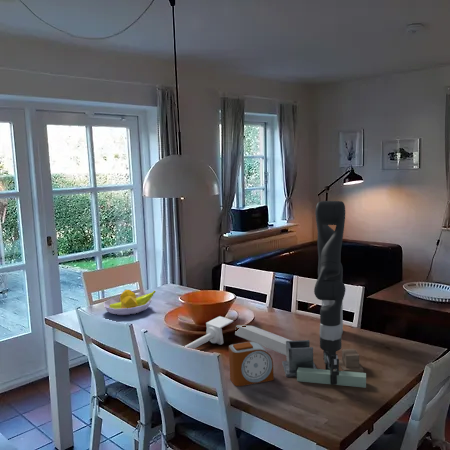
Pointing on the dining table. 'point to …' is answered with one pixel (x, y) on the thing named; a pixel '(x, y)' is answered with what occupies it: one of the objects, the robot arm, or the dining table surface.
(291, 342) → the cup bracket
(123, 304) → the fruit bowl
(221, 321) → the white mallet
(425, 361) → the dining table surface
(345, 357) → the post
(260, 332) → the decorative molding
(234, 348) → the alarm clock
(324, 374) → the green rail
